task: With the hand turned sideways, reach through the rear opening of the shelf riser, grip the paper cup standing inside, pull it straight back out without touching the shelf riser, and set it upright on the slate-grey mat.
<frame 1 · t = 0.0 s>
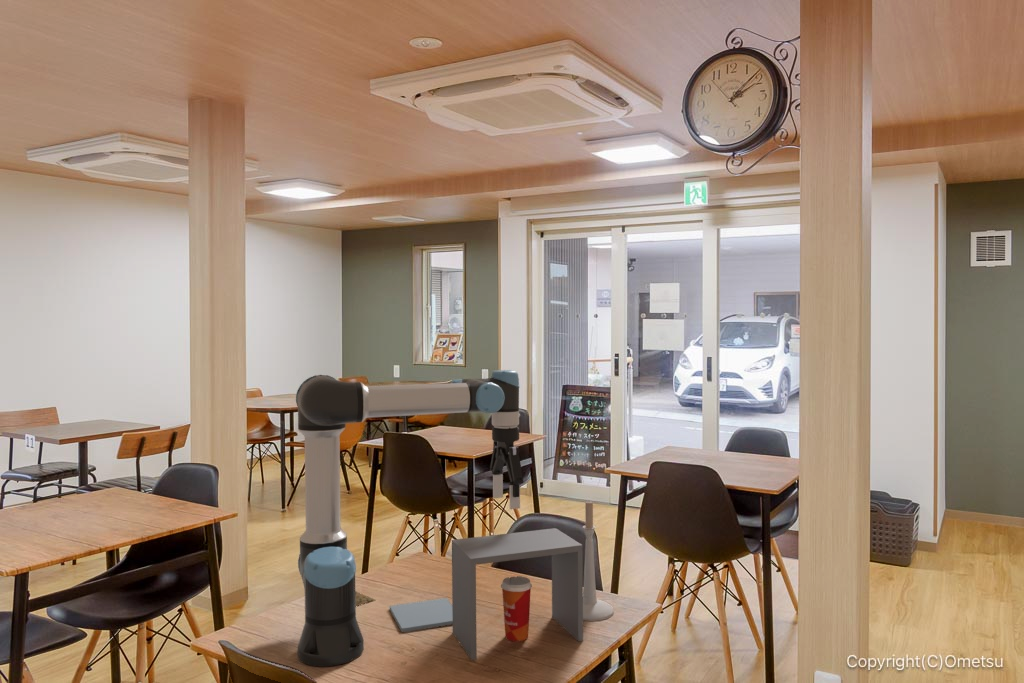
hand: (506, 503, 202), 28 cm above the table, tool pointing down, fingers open, 13 cm apart
paper cup: (516, 637, 181), on the table
mat: (425, 616, 194), on the table
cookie: (346, 602, 206), on the table
shelf riser: (516, 636, 181), on the table
candlestick: (589, 612, 197), on the table
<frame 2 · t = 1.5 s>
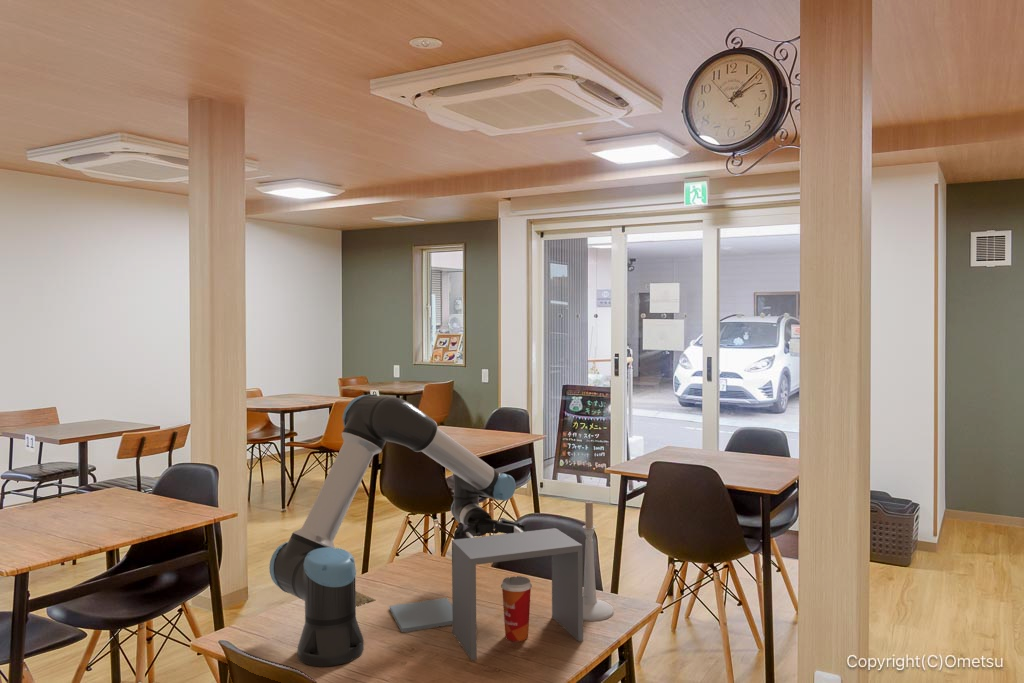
hand: (499, 541, 192), 21 cm above the table, tool horizontal, fingers open, 13 cm apart
nothing on the table moved.
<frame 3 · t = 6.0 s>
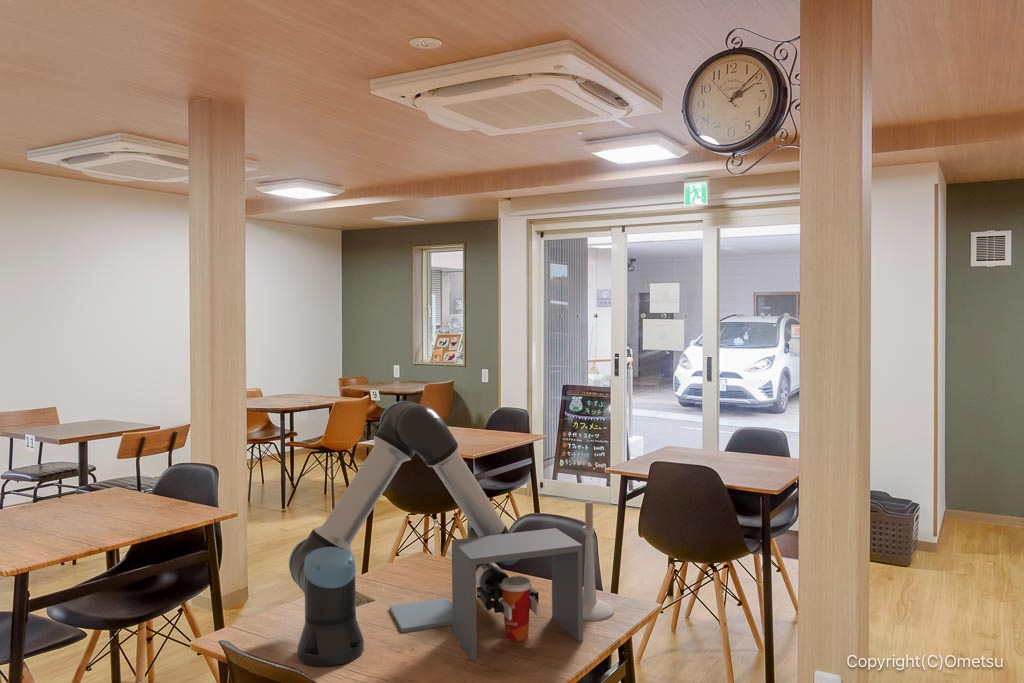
hand: (524, 612, 176), 8 cm above the table, tool horizontal, fingers closed on paper cup, 6 cm apart
paper cup: (516, 637, 181), on the table, touching gripper
everything else where it was.
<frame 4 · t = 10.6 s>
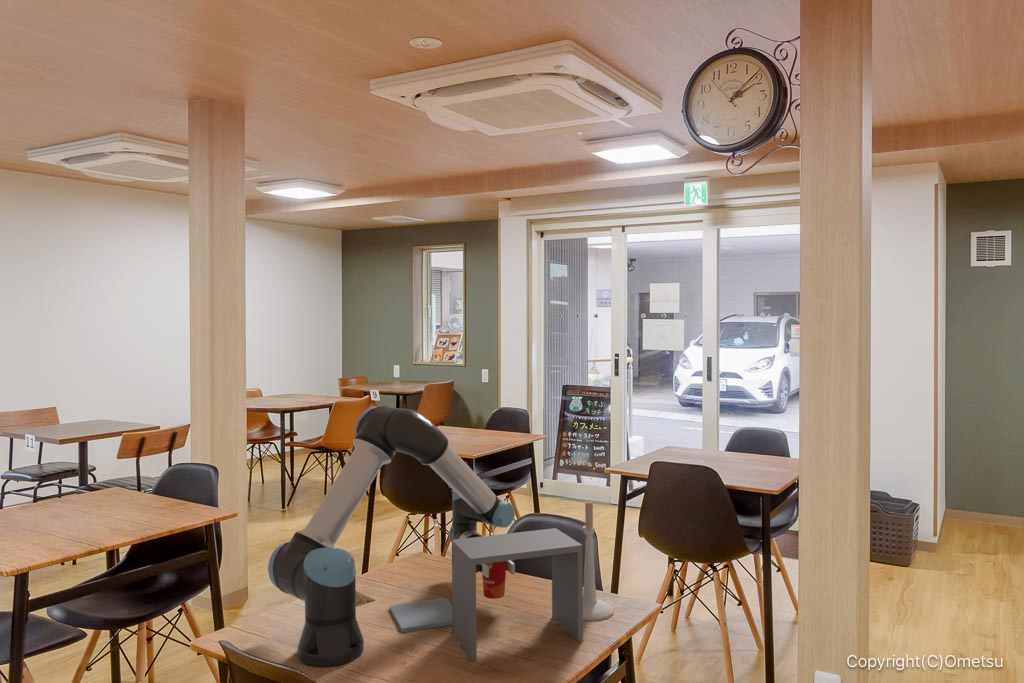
hand: (500, 570, 192), 13 cm above the table, tool horizontal, fingers closed on paper cup, 6 cm apart
paper cup: (494, 595, 197), point 4 cm above the table, touching gripper
everything else where it was.
when the fingers open (10 cm above the table, at t = 15.1 s): paper cup moves 3 cm, resting on mat.
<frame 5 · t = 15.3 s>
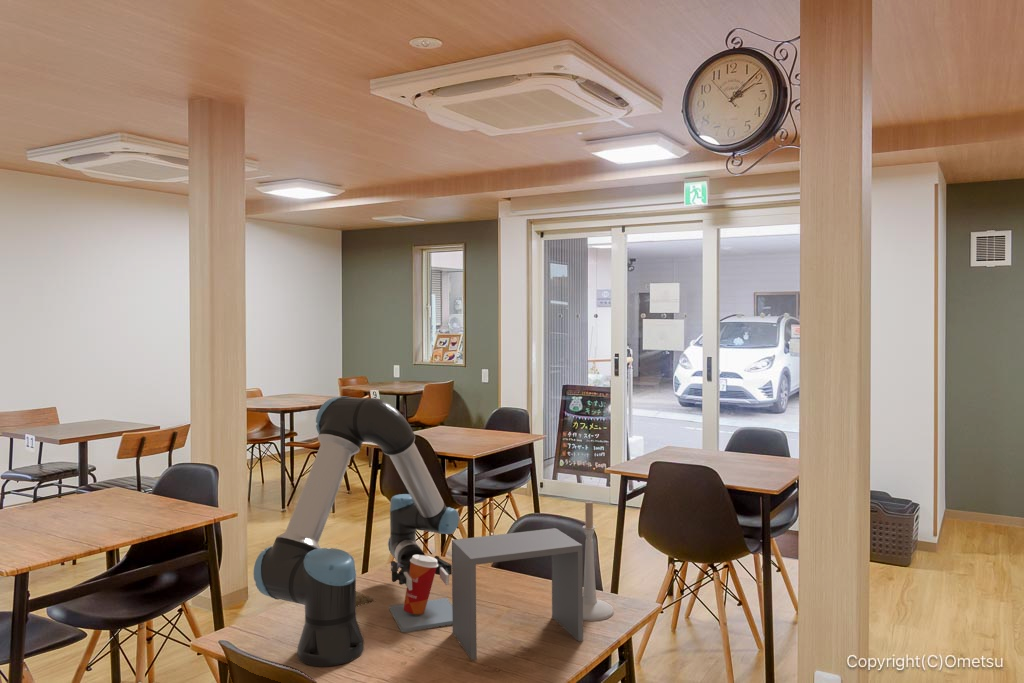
hand: (429, 582, 190), 10 cm above the table, tool horizontal, fingers open, 9 cm apart
paper cup: (413, 611, 194), point 1 cm above the table, touching gripper, mat
everything else where it was.
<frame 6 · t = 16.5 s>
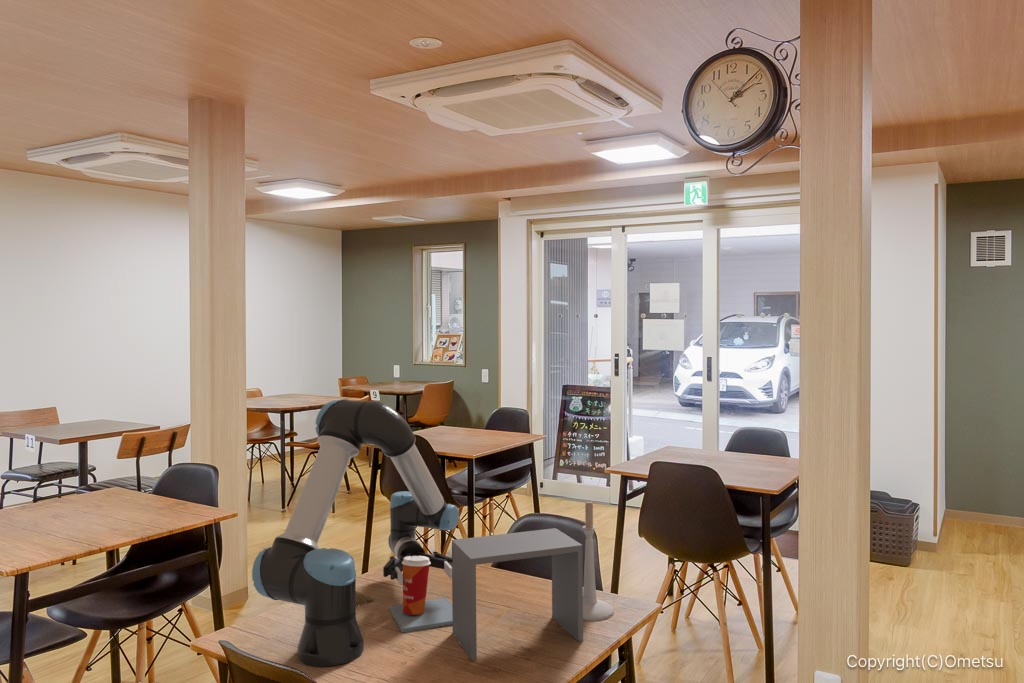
hand: (426, 576, 194), 11 cm above the table, tool horizontal, fingers open, 13 cm apart
paper cup: (413, 612, 194), point 1 cm above the table, touching mat
everything else where it was.
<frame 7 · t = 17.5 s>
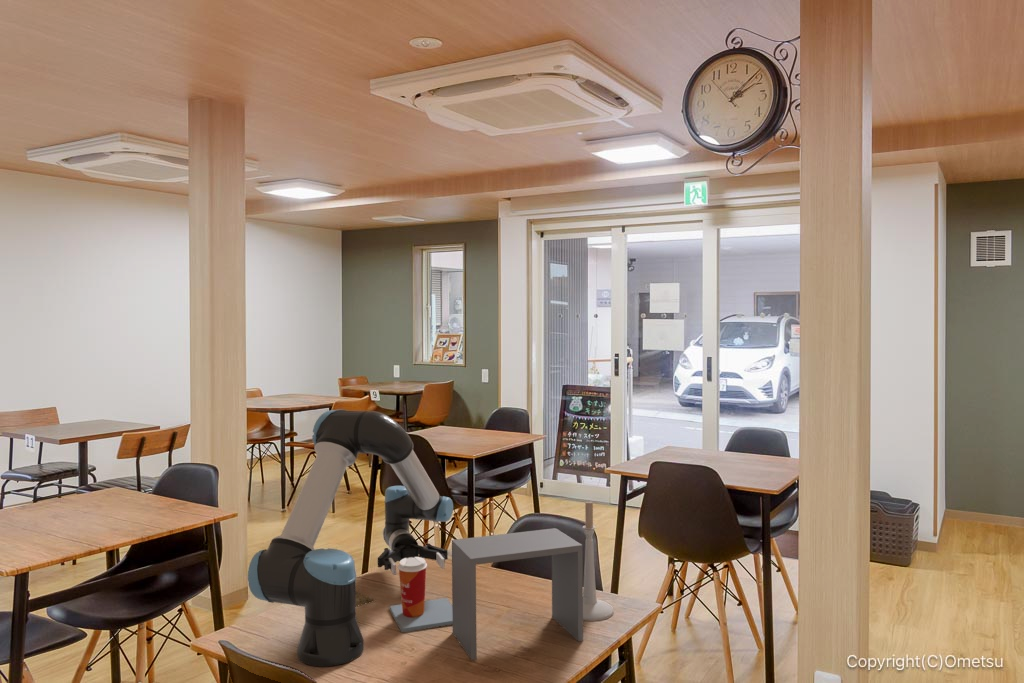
hand: (419, 567, 201), 11 cm above the table, tool horizontal, fingers open, 13 cm apart
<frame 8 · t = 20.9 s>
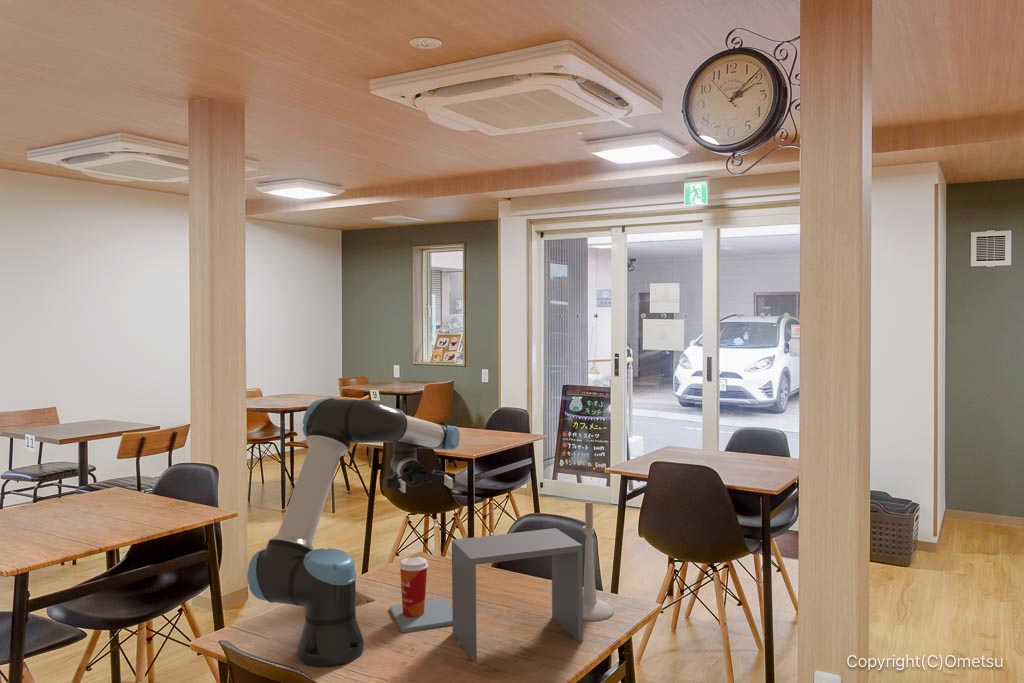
hand: (428, 486, 206), 32 cm above the table, tool horizontal, fingers open, 13 cm apart
nothing on the table moved.
at the end: paper cup inside the target area (3.1 cm from its centre), point 0.9 cm above the table; paper cup tilted 1°; the gripper is holding nothing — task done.
